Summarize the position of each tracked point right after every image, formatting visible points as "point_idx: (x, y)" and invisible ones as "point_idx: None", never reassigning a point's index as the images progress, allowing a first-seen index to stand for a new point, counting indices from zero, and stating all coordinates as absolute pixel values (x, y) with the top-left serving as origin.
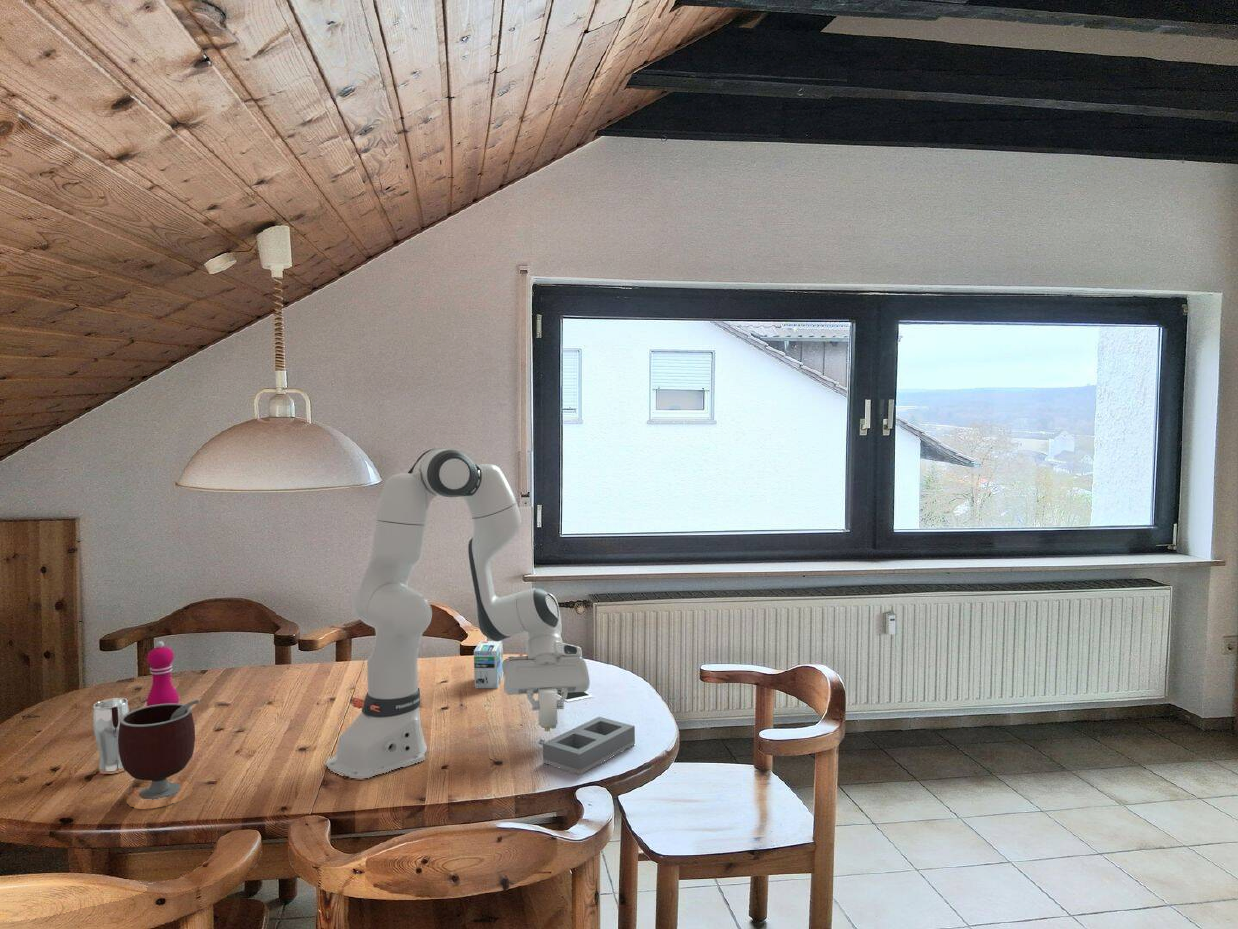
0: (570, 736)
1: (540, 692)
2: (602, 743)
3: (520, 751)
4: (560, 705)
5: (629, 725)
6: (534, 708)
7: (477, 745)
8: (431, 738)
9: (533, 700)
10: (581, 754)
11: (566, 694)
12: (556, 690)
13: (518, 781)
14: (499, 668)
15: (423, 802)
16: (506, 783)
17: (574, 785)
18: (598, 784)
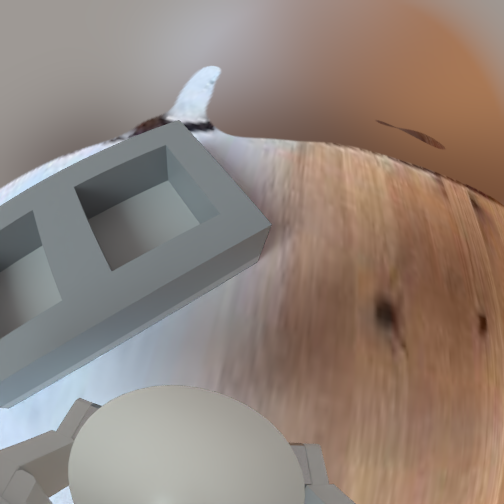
0: (136, 260)
1: (290, 455)
2: (75, 165)
3: (316, 386)
4: (99, 406)
5: None
6: (301, 444)
7: (429, 455)
8: (498, 493)
9: (320, 482)
10: (172, 124)
11: (13, 449)
12: (78, 458)
13: (334, 189)
14: None
15: (469, 193)
16: (360, 192)
17: (212, 131)
18: (162, 121)
